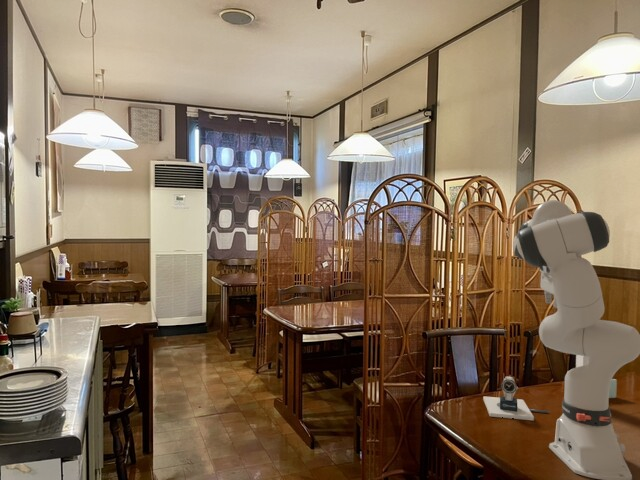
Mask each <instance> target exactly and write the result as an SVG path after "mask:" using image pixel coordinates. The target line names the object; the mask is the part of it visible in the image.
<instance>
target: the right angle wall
mask: <svg viewBox="0 0 640 480" xmlns="http://www.w3.org/2000/svg"><path fill="white" fill-rule="evenodd" d="M568 371H569V370H567V372H568ZM567 372H566V373H567ZM617 384H618V380H617V379H615V378H612V380H611V384H610V390H609V399H615V398H617V390H618V389H617V387H618V386H617Z"/></svg>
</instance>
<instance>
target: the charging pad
mask: <svg viewBox="0 0 640 480" xmlns="http://www.w3.org/2000/svg"><path fill="white" fill-rule="evenodd" d="M516 399H517V412H516V411H509V410H502V409H500V397H494V396H483V399H482V400H483V402H484V404H485V407H486V409H487V410H486V411H487V412H488V415H489V417H494V418H502V417H503V418H502V419H512V418H514V420H523V421H524V420H525V421H535V416H534V415H533V413H542V414H543V413H544V414H549V413H550V411H549V410H545V409H544V410H543V409H542V410H541V409H534V408H533V409H532V408H529V407H528V405H527V404H526V402H525V400H524V399H519V398H516ZM532 412H533V413H532Z"/></svg>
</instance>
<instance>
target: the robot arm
mask: <svg viewBox="0 0 640 480" xmlns="http://www.w3.org/2000/svg"><path fill="white" fill-rule="evenodd" d="M610 233H611V231H610V227H609V225H608V223H607V221H606V220H605V219H604V218H603V216H602V215H601V214H599V213H597V212H594V211H584V210H583V209H581V210H579V211H578V212H575V213H572V211H571V209H570V207H569V206H568V205H567V204H566V203H564V202H563V201H560V200H556V199H549V200H546V201H544V202H542V203H540V204H539V205H538V206H537V207H536V209H535V210H534V212H533V215H532V218H531V219H529V220H527V221H524V222H522V224H521V225H520V226H519V229H518V231H517V233H516V234H515V236H514V238H513V241H512V250H513V253H514V255H515V256H516V257H517V258H518V259H520V260H524V262H525V263H526V264H528V265H530V266H532V267H535V268H538V269H539V272H540V282H539V283H540V285H539V286H540V289H541V290H543V292H544V297H545V303H546V304H552V307H554V308H555V309H556V308H557V311H556V312H554V313H553V314H550V315H547V316H546V317H544V319H542V321H541V322H540V324H539V327H538V335H539V339H540V341H541V343H542V344H543V345H544V347H546V348H549V349H551V350H554V351H556V352H557V351H558V352H559V353H565V354H569V355H574V356H576V355H580V356H586V357H588V358H589V363H588V364H587V365H584V366H580V367H576V366H575V367H573V368H571V369H570V370H567V371H568V372H566V374H565V375H564V389H563V390H564V393H563V395H564V397H563V398H562V402H561V407H562V409H561V411H562V415H560V416H559V418H557V419H556V423H555V424H556V425H555V434H554V435H555V436H554V442H553V441H552V442H550V443H549V445H548V448H549V449H550V451H552V452H553V453H554V455H556V456H557V457H558V459H560V460H561V461H562V462H563V464H565V465H566V466H567V467H568V468H569V469H570V470H571V471H572V472H573V473H574V474H578V475H580V476H583V477H587V478H591V479H597V480H633V475H632V473H631V470H630V468H629V467H628V463H627V462H626V460H625V458H624V456H623V454H625V453H626V446H625V445H626V444H625V443H620V442H618V440H619V439H620V438H619V433H616V432H615V430H614V425H613V424H612V412H611V408H610V406H609V400H610V398H609V390H610V384H611V380H612V379H614V376H615V375H616V373H617V372H618V371H619V369H621V368H622V367H623V366H625V365H626V364H629V363H631V362H634V361H635V360H636V359H637V358H638V357H639V356H640V333H639V331H638V330H637V328H636V327H634V326H631V325H628V324H625V323H622V322H619V321H615V320H614V321H613V320H605V319H601V318H602V317H603V316H604V313H605V304H604V297H603V296H604V295H603V291H602V287H601V283H600V279H599V277H598V275H597V273H596V269H595V268H594V266H593V265H592V263H591V262H590V261H589V260H588V259H586V258H585V257H582V256H583V255H587V254H590V253H592V252H593V253H596V252H599V251H602V250H603V249H605V248H607V247H608V245H609V243H610V236H611V234H610ZM552 296H553V299H552ZM552 301H553V302H552Z"/></svg>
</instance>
